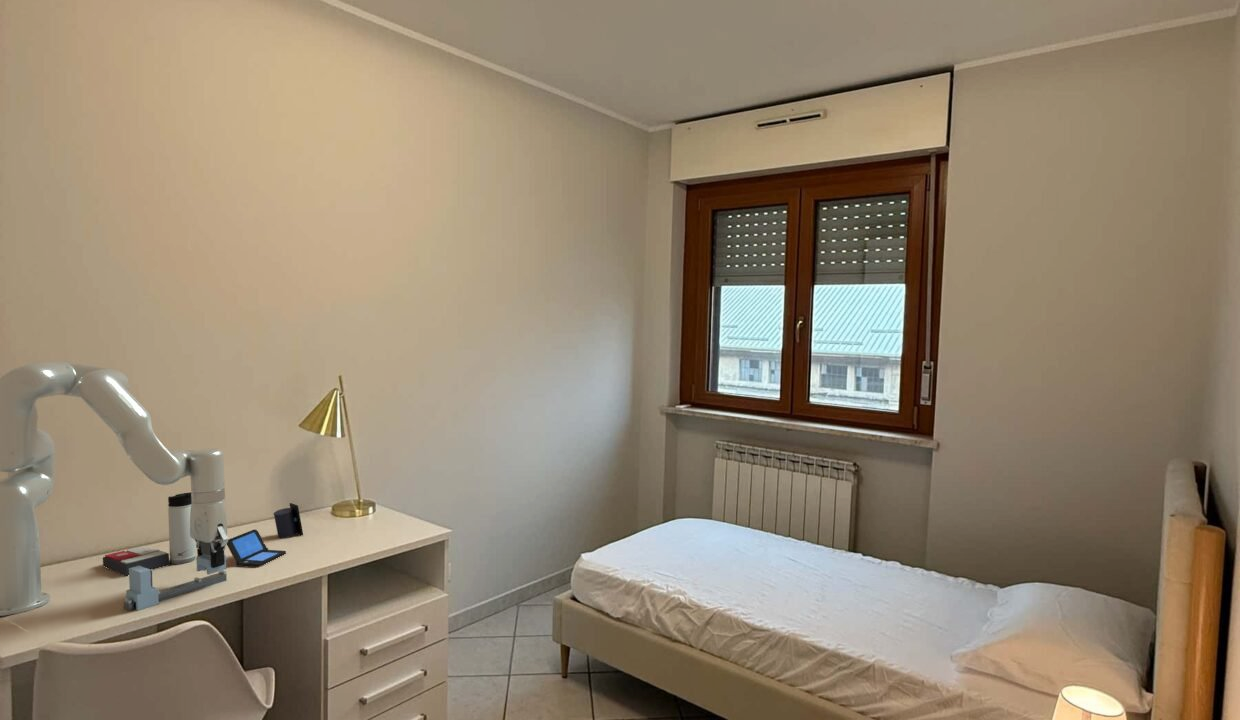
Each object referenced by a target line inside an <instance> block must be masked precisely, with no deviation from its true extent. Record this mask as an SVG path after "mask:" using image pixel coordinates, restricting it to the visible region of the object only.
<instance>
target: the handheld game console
mask: <svg viewBox="0 0 1240 720" xmlns="http://www.w3.org/2000/svg"><path fill="white" fill-rule="evenodd" d="M226 546H227V547H228V549H229V552H230V553H231V554H232V557H233V559H234V561H235V566H236V567H245V566H248V567H247V568H260V567H262V566H265V565H266V563H267V564H269V563H270V561H271V562H273V561H274V559H275V560H277V559H279V558H281V557H283V556H285V555H286V554H287V551H285V550H278V549H277V550H275V549H269V548H268V547H267V545H266V544H265V542H264V541H263V539H262V536H261V534H260V533H259V530H257V529H251V530H249V531H246V532H244V533H242V534H241V533H240V534H239V535H237V536H234V537H232V538H228V542H227V544H226ZM284 554H285V555H284ZM282 555H283V556H282ZM280 556H281V557H280ZM278 557H279V558H278ZM276 558H277V559H276ZM272 560H273V561H272ZM268 562H269V563H268ZM264 564H265V565H264ZM259 566H260V567H259Z"/></svg>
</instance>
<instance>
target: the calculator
mask: <svg viewBox="0 0 1240 720" xmlns="http://www.w3.org/2000/svg"><path fill="white" fill-rule="evenodd" d="M167 565H168V566H170V552H169V553H167V552H166V551H161V550H160V549H158V548H153V547H150V546H146V545H143V546H142V545H141V546H138V547H134V548H131V549H127V550H121V551H117V552H113V553H108V554H106V555H104V556H103V557H102V567H103V566H105V567H107V568H109V569H108V570H110V569H111V571H112V570H113V571H112V572H115V571H116V573H118V574H119V573H120V574H119V575H121V574H122V575H121V576H123V575H124V576H123V577H129V576H128V575H129V568H132V567H136V566H142V567H144V568H147V569H150V570H151V569H153V570H156V569H155V568H157V569H160V568H159V567H161V568H164V567H168V566H167ZM163 566H164V567H163ZM105 567H104V568H105ZM107 568H106V569H107ZM151 571H152V570H151Z"/></svg>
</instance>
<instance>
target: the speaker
mask: <svg viewBox="0 0 1240 720" xmlns="http://www.w3.org/2000/svg"><path fill="white" fill-rule="evenodd" d="M273 517H274V523H275V527H276V533H277V536H278V537H277V538H279V539H282V538H283V539H285V538H290V537H292V536H294V535H296V534H297V535H299V534H300V535H299V536H301V535H303V536H304V533H303V526H302V522H301V521H302V520H301V515H300V509H299V505H297V504H294V503H292V502H290V503H289V507H285V508H282V509H278V510H276V511H275V512H273Z"/></svg>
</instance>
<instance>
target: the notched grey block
mask: <svg viewBox="0 0 1240 720" xmlns="http://www.w3.org/2000/svg"><path fill="white" fill-rule="evenodd" d="M217 539H220V538H219V537H216V538H215V540H217ZM218 543H219V542H215V546H216V545H217V544H218ZM201 553H202V554H203V555H201V556H198V555H197V556H195V560H196V571H197V572H201V571H204V570H206V574H207V576H210V575H213V574H216V573H219V571H222V570H223V571H225V570H226V569H227V560H226V559H227V558H226V557H227V555H226V554H224V559H225V564H224V565H222V566H219V567H215V568H212V567H211V553H212V549H211V544H210V543H205V542H202V541H201Z"/></svg>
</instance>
